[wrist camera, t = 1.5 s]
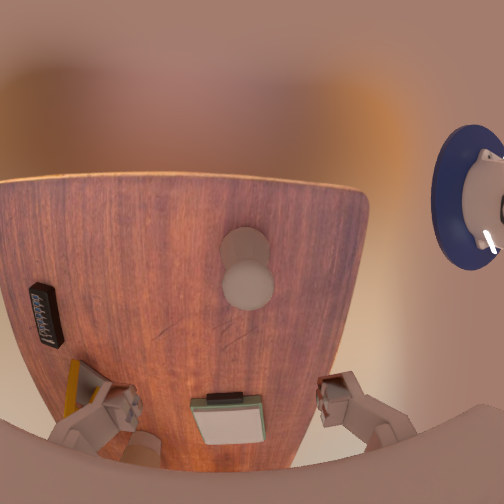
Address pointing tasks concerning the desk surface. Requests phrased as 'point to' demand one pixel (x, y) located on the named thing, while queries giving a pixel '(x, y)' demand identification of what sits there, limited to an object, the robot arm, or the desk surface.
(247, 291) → the salt shaker
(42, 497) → the robot arm
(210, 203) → the desk surface
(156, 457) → the coffee cup
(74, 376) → the toy computer monitor
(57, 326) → the multiport hub
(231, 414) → the scale
